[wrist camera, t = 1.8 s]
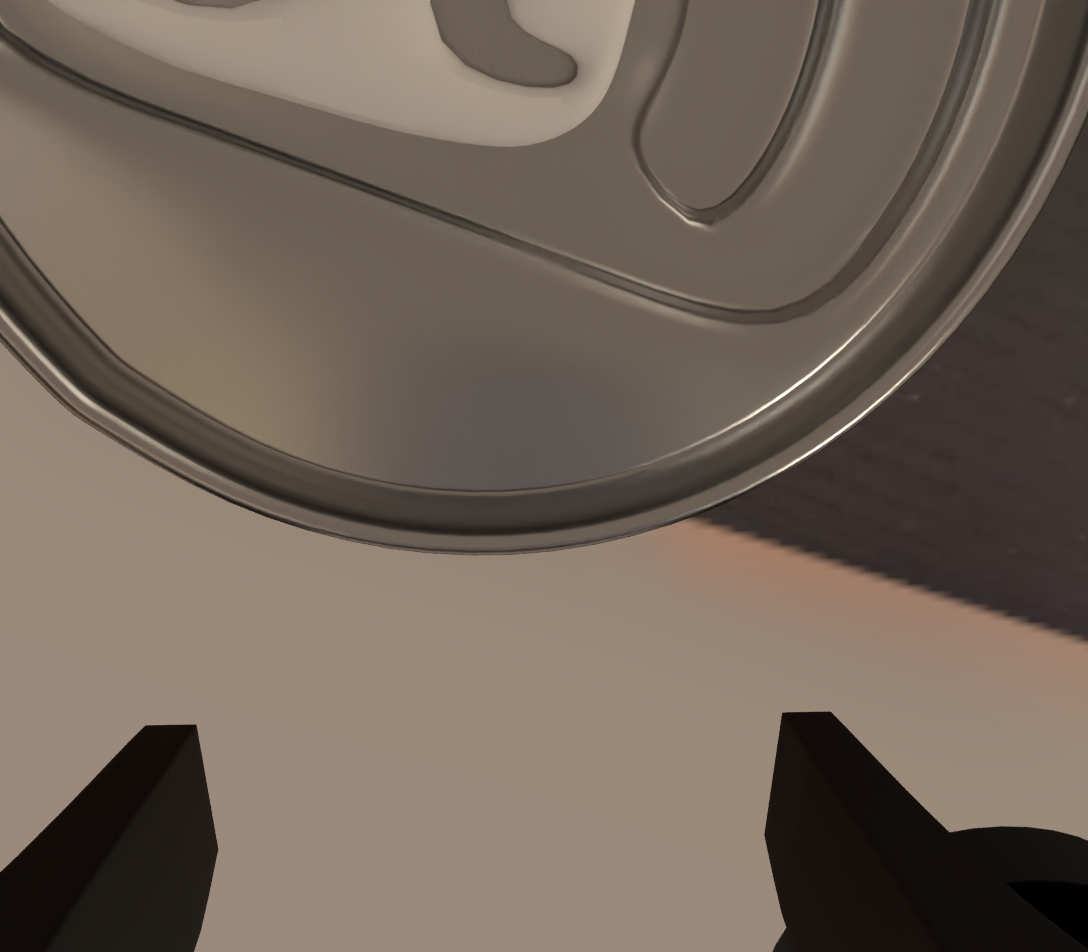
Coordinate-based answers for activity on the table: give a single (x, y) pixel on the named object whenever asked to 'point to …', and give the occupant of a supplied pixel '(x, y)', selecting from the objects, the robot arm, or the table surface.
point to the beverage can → (510, 240)
